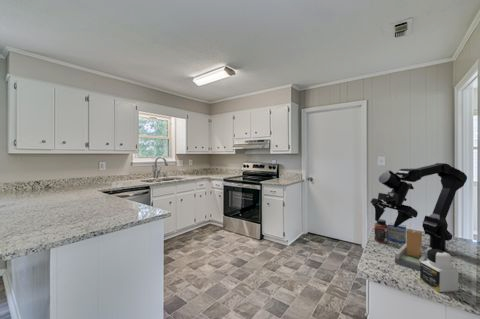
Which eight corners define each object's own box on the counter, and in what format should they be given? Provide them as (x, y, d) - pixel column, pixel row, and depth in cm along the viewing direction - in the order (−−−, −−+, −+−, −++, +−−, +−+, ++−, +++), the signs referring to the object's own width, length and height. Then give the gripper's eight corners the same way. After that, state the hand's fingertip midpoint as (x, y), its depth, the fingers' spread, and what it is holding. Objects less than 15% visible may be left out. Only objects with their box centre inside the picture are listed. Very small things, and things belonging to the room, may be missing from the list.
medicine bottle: (419, 280, 79) (419, 247, 79) (437, 279, 79) (438, 246, 79) (439, 292, 72) (439, 256, 71) (458, 291, 72) (459, 255, 72)
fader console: (406, 249, 104) (406, 241, 104) (431, 256, 97) (431, 247, 97) (395, 262, 91) (395, 253, 91) (422, 271, 85) (422, 261, 84)
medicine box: (387, 240, 115) (387, 224, 115) (387, 238, 119) (387, 222, 119) (405, 244, 111) (406, 227, 111) (405, 241, 114) (405, 224, 114)
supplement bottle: (390, 244, 111) (390, 222, 110) (377, 243, 112) (377, 221, 112) (384, 239, 116) (385, 218, 116) (372, 238, 118) (372, 218, 117)
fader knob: (408, 251, 97) (409, 228, 97) (421, 254, 94) (421, 231, 94) (406, 254, 94) (406, 230, 94) (419, 257, 91) (419, 233, 91)
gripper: (369, 182, 107) (356, 210, 106) (407, 188, 89) (392, 222, 88) (384, 193, 110) (371, 220, 108) (424, 200, 92) (410, 233, 90)
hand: (384, 223), depth 99 cm, fingers open, 9 cm apart
